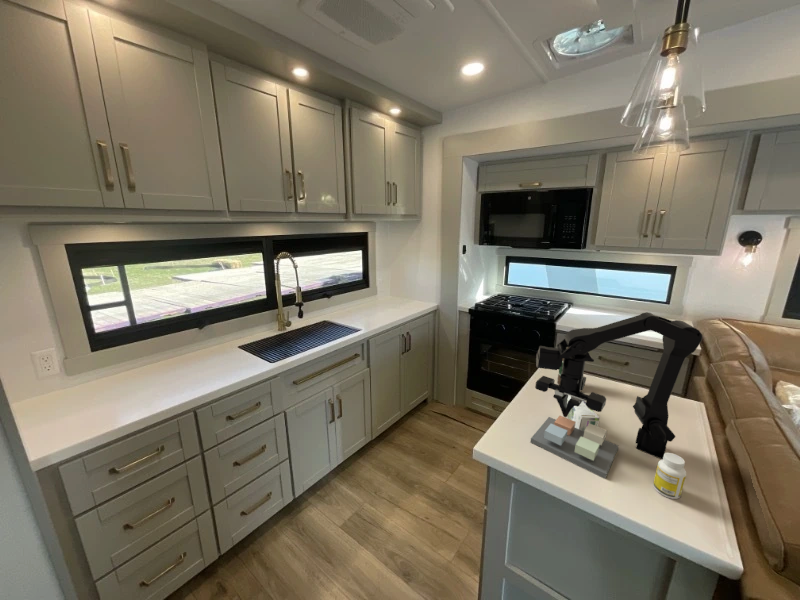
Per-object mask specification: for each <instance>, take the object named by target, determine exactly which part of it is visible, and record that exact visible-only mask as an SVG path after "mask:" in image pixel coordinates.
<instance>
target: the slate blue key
mask: <svg viewBox="0 0 800 600" xmlns="http://www.w3.org/2000/svg"><path fill="white" fill-rule="evenodd" d="M566 437H567V430H565V429H563V428H560V427H558V426H556V425H553V424H550V425H549V426H548V428H547V429H546V430H545V434H544V438H545V439H547V440H550V441H552V442H554V443H556V444H558V445H560V446H561V445H562V443H563V442H564V440H565V439H566Z"/></svg>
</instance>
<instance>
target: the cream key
mask: <svg viewBox="0 0 800 600" xmlns="http://www.w3.org/2000/svg"><path fill="white" fill-rule="evenodd" d="M607 432H608V430H607V429H605V428H603V427H600V426H598V427H597V426H595V425H592V424H590V423H589V424H588V426H587V427H586V429H585V430H584V436H583V437H584V438H586V439H589V440H591V441H593V442H596V443H598V444H600V445H602V443H603V441H604V440H606V437H607Z"/></svg>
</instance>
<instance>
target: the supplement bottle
mask: <svg viewBox="0 0 800 600" xmlns="http://www.w3.org/2000/svg"><path fill="white" fill-rule="evenodd" d="M685 464H686V461H685V460H684V458H683V457H681V456H680V455H678V454H676V453H672V452H665V454H664V456H663V459H660V460H658V463H657V466H656V471H655V475H654V478H653V479H654V480H653V486H652V487H653V488H654V489H655V491H657V492H658V493H659V494H660V495H662V496H663V497H664V498H665V497H666V498H667V499H672V500H677V499H680V498H681V495H682V492H683V487H684V485H685V484H684V483H685V480H686V477H687V471H686V469H685V468H684V467H685Z"/></svg>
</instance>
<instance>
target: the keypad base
mask: <svg viewBox="0 0 800 600" xmlns="http://www.w3.org/2000/svg"><path fill="white" fill-rule="evenodd" d="M555 421H556V419H555V418H553V417H550V416H548V417H547V418H546V419H545V421H544V422H543V423H542V425H541V426H539V428H538V429H537V430H536V431H535V432H534V434H533V435H532V436H531V438H530V442H529V443H531V444H533V445H534V446H537V447H538V448H541V449H543V450H545V451H546V452H548V453H549V452H550V453H551V454H553V455H556V456H557V457H560V458H561V459H563V460H566V461H567V462H570V463H572V464H574V465H576V466H577V467H580V468H582V469H585V470H586V471H588V472H590V473H593V474H595V475H597V476H598V477H601V478H603V479H606V478H607V476H608V474H609V471H610V469H611V467H612V464H613V462H614V460H615V457H616V455H617V453H618V451H619V445H618V444H616V443H613V442H611V441H609V440H606V439H604V441H603V443H602V445H599V450H598V453H597V455H596V457H595V459H594V461H593V460H591V459H589V458H586V457H584V456H582V455H580V454H578V453H576V452H574V451H575V446H576V443H577V442H578V440H579V438H580V437H581V436H582V437H583V436H584V431H582V430H580V429H577V428H576V427H575V429H574V430H573V432H572V433H571V435H570V436H569V435H567V437H566V439H565V440H564V442H563V443H562V445H561V446H560V445H558V444H556V443H554V442H552V441H550V440H547V439H545V438H544V434H545V430H546V429H547V428H548V426H549V425H550V424H553V425H554V422H555Z"/></svg>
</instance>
